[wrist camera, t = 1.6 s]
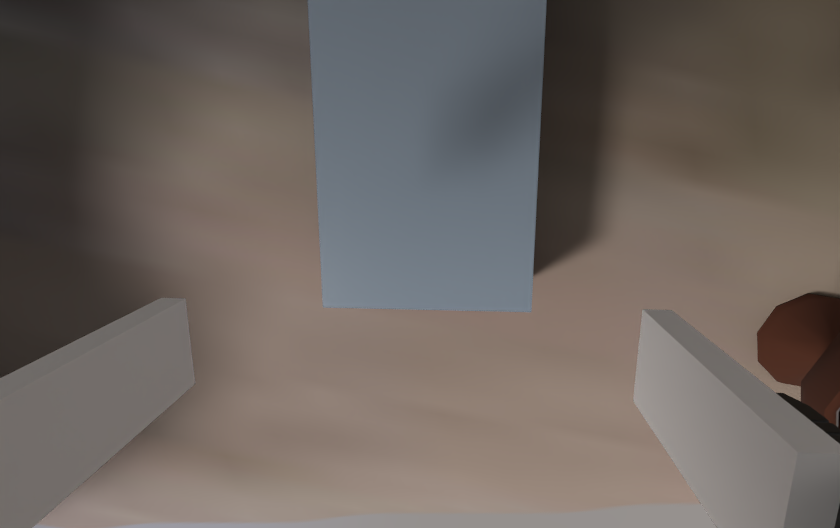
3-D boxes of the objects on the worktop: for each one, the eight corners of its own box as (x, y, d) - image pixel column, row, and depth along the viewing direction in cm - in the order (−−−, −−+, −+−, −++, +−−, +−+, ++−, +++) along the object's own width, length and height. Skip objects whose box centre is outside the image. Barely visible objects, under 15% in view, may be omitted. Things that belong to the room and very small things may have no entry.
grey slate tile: (345, 280, 29) (322, 307, 24) (332, -66, 25) (302, -117, 20) (519, 283, 29) (531, 312, 24) (534, -74, 24) (552, -128, 20)
